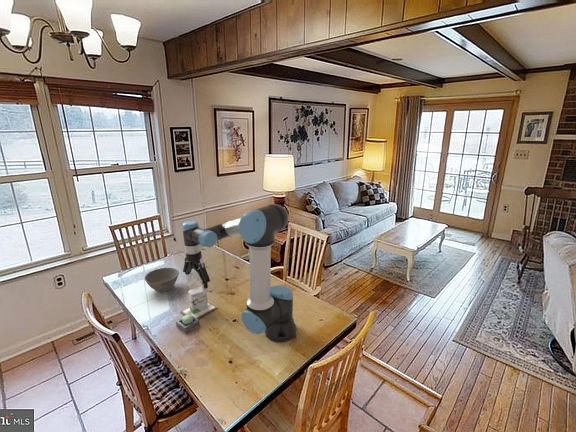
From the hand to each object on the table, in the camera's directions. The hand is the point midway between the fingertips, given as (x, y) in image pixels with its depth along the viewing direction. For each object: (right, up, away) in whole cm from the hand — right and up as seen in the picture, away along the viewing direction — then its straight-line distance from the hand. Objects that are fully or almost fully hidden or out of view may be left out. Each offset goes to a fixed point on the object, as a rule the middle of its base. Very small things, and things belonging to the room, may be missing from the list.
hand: (197, 289), depth 155 cm
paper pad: (0, -12, +4) cm, 13 cm away
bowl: (-28, -6, +24) cm, 37 cm away
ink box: (0, -12, +4) cm, 13 cm away
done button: (-2, -15, -8) cm, 17 cm away
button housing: (-2, -16, -8) cm, 18 cm away
